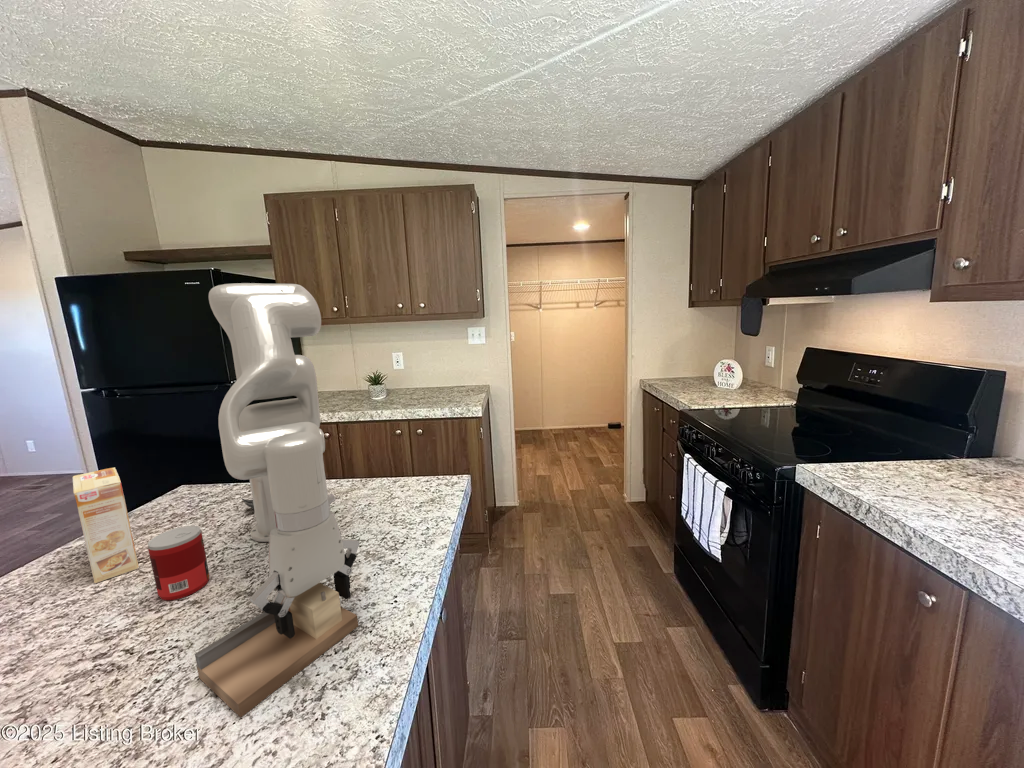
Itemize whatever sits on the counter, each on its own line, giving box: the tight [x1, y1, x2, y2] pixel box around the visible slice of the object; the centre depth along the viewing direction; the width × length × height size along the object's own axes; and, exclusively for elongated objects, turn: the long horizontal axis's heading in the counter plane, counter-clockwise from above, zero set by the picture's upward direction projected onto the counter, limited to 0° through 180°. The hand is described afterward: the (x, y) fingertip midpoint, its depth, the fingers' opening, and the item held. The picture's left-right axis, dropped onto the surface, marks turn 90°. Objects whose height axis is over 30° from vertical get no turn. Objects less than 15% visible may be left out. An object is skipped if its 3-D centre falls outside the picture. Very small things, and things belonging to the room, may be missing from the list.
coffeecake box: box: [72, 467, 140, 584], centre depth 89 cm, size 15×7×20 cm, turn 47°
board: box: [194, 606, 359, 718], centre depth 63 cm, size 12×18×4 cm, turn 148°
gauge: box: [281, 582, 342, 639], centre depth 67 cm, size 9×5×8 cm, turn 58°
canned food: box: [147, 525, 210, 601], centre depth 80 cm, size 8×8×11 cm
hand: (316, 613), depth 66 cm, fingers open, 9 cm apart
